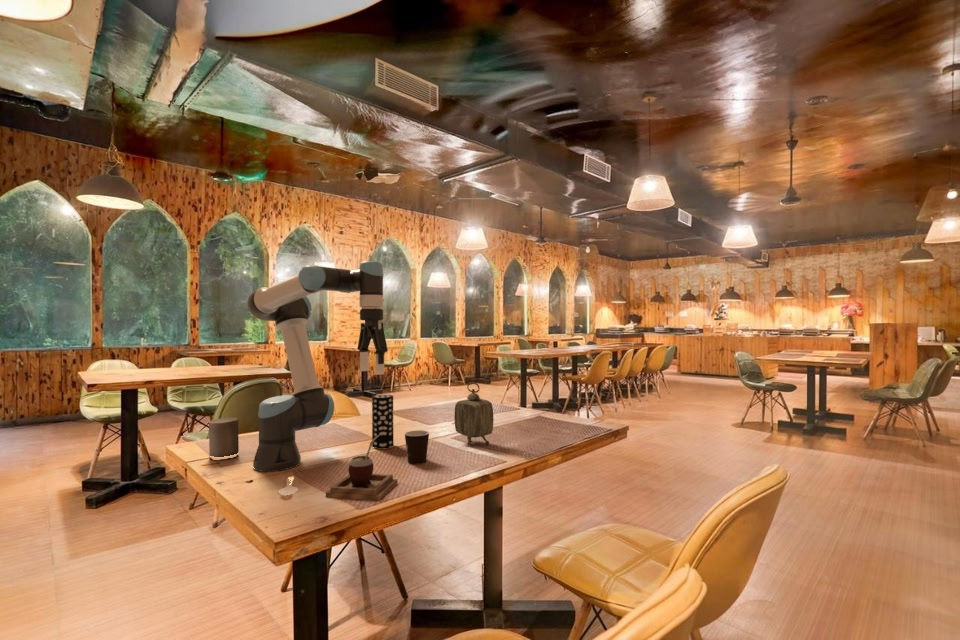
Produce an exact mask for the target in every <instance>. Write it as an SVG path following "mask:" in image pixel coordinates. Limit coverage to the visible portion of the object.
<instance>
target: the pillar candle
mask: <svg viewBox="0 0 960 640" xmlns="http://www.w3.org/2000/svg"><path fill="white" fill-rule="evenodd" d="M208 438H209V439H208V440H209V441H208V442H209V444H208V448H209V449H208V451H209V457H210V456H214V457H224V456H230V455H234V454H237V453H238V452H239V447H240V446H239V442H240V441H239V418H238V417H225V416H223V417H222V418H216V419H212V420H209V421H208ZM239 453H240V452H239Z"/></svg>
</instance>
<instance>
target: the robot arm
mask: <svg viewBox="0 0 960 640" xmlns="http://www.w3.org/2000/svg"><path fill="white" fill-rule="evenodd" d="M383 267H384V266H383V264H382V263H381V262H379V261H373V260H371V261H369V260H367V261H365V260H364V261H362V262H359V268H358V269H345V268H344V269H343V268H337V267H336V268H335V267H327V266H320V265H313V264H312V265H310V264H309V265H305V266H302V267H301V269H300V270H299V272H298V274H297V275H295V276H292V277H290V278H288V279H286V280H284V281H281V282H278V283H277V284H275V285H272V286H270V287H266V286H265V287H264V286H263V287H260V288H258V289H256V290H254V291H253V292H251V293H250V295H249V296H248V299H247V301H246V303H247V309H248V311H249V313H250V314H251V315H252V316H253V317H255V318H256V319H257V320H261V321H264V322H275V326H276V329H278V330H280V331H281V334H282V338H283V343H284V347H285V352H286V357H287V361H288V366H289V372H290V375H291V380H292V381H291V382H292V385H293V389H294V391H293V392H292V393H291V394H283V395H276V396H272V397H269V398H267V399H264V400H263V401H261V402H260V403H259V406H258V414H257V415H258V416H257V417H258V446H257V449H256V451H255V455H254V459H253V463H252V466H253V467H254V468H255V469H257V470H256V471H258V470H262V471H261V472H277V471H276V470H278V471H282V470H283V469H284V470H288V469H287V468H289V469H291V467H292V468H294V466H295V467H297V466H298V464H299V465H300V464H301V463H300V462H302V459H301V458H302V457H301V453H300V451H299V448H298V445H297V442H296V432H297V431H302V430H307V429H311V428H318V427H321V426H324V425H326V424H328V423H329V422H331V420H332V419H333V415H334V413H335V402H334V400H333V397H332V396H331V395H330V394H329V393H326V392H325V389H324V387H323V386H321V385H320V384H319V382H318V378H317V373H316V370H315V369H316V367H315V365H314V360H313V356H312V352H311V347H310V343H309V339H308V334H307V330H306V326H307V324H308V323H309V321H308V320H309V319H310V317H311V316H312V313H311V312H312V304H311V302H310V301H311V300H310V299H309V296H311V295H312V294H316V293H318V292H321V291H332V292H334V291H335V292H340V293H346V294H350V293H356V292H359V308H361V309H360V310H359V319H360V320H361V321H364V322H361V323H360V329H359V330H360V331H359V338H358V343H357V349H356V350H359V356H360V357H359V363H360V365H359V371H360V372H369V369H370V367H369V365H370V364H369V363H370V362H369V359H370V357H369V352H370V349H369V346H370V343H371V340H372V342H373V345H374V349H375V351H374V354H375V360H374V361H375V362H374V364H375V366H374V369H375V375H379V376H380V375H385V354H386V353H387V352H388V351H389V350H388V345H387V341H386V340H387V339H386V336H385V335H386V334H385V331H384V323H383V322H379V321H383V320H384V309H383V307H384V302H385V298H384V268H383ZM296 465H297V466H296ZM253 467H252V468H253ZM254 468H253V469H254ZM255 469H254V470H255ZM284 470H283V471H284Z"/></svg>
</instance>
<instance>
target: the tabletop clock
mask: <svg viewBox="0 0 960 640" xmlns="http://www.w3.org/2000/svg"><path fill="white" fill-rule="evenodd" d="M471 384H472V385H476V386H477V388H478V389H477V390H476V389H475V388H472V389H470V388H469V386H470V385H471ZM466 389H467V390H468V392H470V393H469V394H468V395H467V398H466V399H462V400H458V401H457V402H456V403H455V406H454V429H455V432H456V433H458V434H460V435H462V436H466V437H467V444H468V446H471V445H473V444H472V438H474V439H475V438H481V439H483V440H484V441H485V442H484V443H485V445H486V446H488V445H490V441H489V440H487V439H486V436H489V435H491V434H492V433H493V431H494V418H495V417H494V409H493V404H492V402H491V401H489V400H487V399H485V398H484V399H483V398H480V395H479V394H478V393H479V391H480V389H481V388H480V385H479V384H478V383H477V382H475V381H471V382H469V383H468V384H467V388H466Z"/></svg>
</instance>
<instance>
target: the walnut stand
mask: <svg viewBox="0 0 960 640" xmlns="http://www.w3.org/2000/svg"><path fill="white" fill-rule="evenodd" d="M370 481H371V483H370V484H367V486H368V488H364V487H361V486H360V487H357V488H356V487H351V486H352V482H351V477H350V475H349V474H348V475H346V476H345V477H343V478H341V479H340V480H339V481H337V482H336V483H335V484H334V485H332V486H331V487H330V488H329V490H327V491H325V498H335V499H340V498H341V499H350V498H351V499H354V500H367V501H380V500H381V499H382V498H384V497H385V496H386V495H387V494H388V493H389V492H390V491H391V490H390V489H391V488H392V487H393V486H394V485H395V484H396V483H397V484H398V479H396V478H394V475H393V474H389V473H387V474H384V473H372V476H371V477H370ZM397 484H396V485H397ZM396 485H395V486H396ZM395 486H394V487H395ZM394 487H393V488H394ZM393 488H392V489H393ZM389 490H390V491H389Z"/></svg>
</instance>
